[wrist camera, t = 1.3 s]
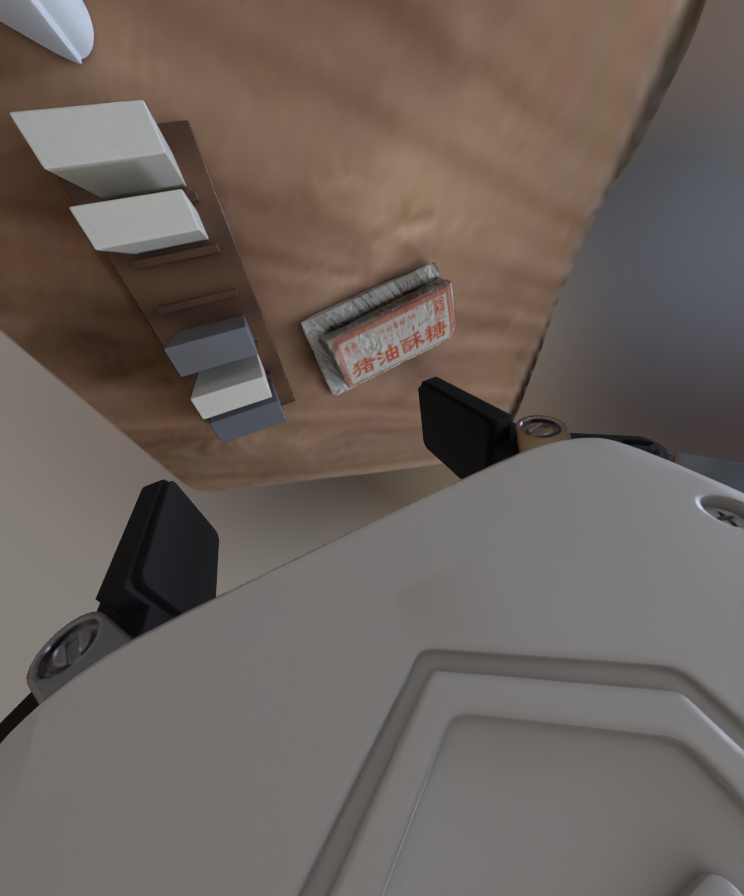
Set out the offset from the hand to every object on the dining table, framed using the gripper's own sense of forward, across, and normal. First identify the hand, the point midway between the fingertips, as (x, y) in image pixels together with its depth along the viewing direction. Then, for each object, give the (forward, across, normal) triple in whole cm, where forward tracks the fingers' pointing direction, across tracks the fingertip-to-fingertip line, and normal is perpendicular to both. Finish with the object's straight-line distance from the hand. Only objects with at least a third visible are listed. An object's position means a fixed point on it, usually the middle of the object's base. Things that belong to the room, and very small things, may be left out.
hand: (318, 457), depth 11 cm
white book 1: (+25, +4, -13) cm, 29 cm away
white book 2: (+25, +4, -10) cm, 27 cm away
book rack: (+26, +4, -4) cm, 27 cm away
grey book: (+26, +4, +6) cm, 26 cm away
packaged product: (+26, -14, +3) cm, 30 cm away
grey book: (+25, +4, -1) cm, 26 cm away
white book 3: (+25, +4, +2) cm, 26 cm away
